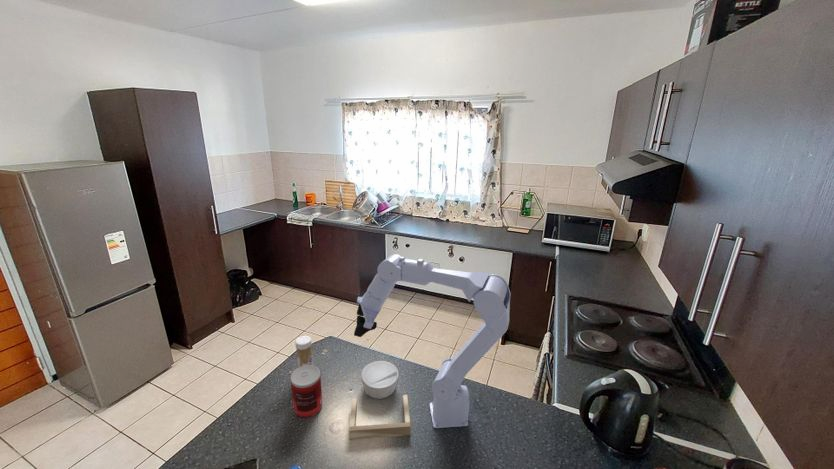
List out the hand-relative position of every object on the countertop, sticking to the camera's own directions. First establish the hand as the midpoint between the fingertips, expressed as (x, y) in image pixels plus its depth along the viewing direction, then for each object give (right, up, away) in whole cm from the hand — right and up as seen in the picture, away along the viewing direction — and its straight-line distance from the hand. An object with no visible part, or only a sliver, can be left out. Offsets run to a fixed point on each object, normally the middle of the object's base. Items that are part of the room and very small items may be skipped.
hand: (358, 324), depth 92 cm
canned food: (-14, -23, -2) cm, 27 cm away
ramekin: (+5, -21, +6) cm, 23 cm away
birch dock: (+7, -24, -5) cm, 26 cm away
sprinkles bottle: (-18, -19, +9) cm, 28 cm away
